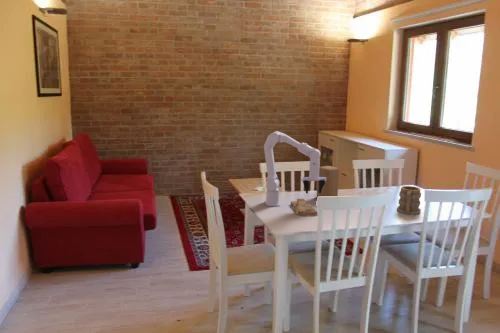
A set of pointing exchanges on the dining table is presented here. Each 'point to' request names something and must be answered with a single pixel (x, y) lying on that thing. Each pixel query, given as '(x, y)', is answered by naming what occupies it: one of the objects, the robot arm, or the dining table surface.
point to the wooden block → (329, 181)
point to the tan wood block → (300, 205)
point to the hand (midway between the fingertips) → (313, 193)
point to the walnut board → (309, 209)
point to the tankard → (409, 200)
